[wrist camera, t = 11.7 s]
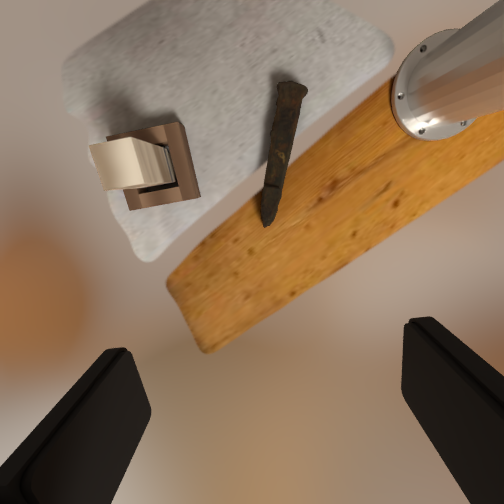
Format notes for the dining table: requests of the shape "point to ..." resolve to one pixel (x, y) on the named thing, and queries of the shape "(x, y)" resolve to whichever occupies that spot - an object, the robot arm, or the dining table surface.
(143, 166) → the peg
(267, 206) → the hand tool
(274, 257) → the dining table surface
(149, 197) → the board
